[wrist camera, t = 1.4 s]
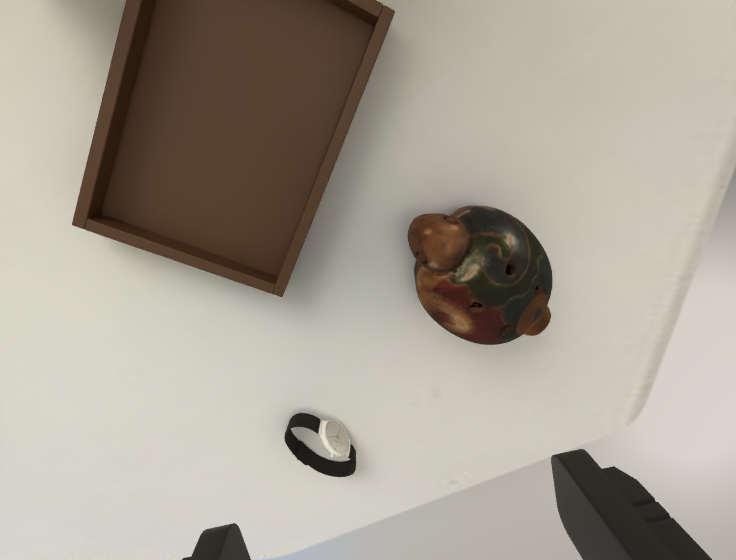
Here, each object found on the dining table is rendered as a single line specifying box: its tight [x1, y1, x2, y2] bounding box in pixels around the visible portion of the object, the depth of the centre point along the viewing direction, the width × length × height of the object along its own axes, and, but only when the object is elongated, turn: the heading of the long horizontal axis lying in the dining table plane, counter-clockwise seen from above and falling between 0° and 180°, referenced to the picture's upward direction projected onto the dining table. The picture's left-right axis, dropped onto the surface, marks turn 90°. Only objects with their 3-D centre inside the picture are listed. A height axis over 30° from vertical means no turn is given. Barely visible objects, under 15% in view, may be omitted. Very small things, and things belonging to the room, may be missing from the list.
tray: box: [72, 0, 395, 297], centre depth 28 cm, size 15×21×3 cm
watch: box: [285, 413, 356, 477], centre depth 37 cm, size 8×5×4 cm, turn 43°
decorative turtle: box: [408, 206, 552, 345], centre depth 31 cm, size 10×15×8 cm, turn 57°
